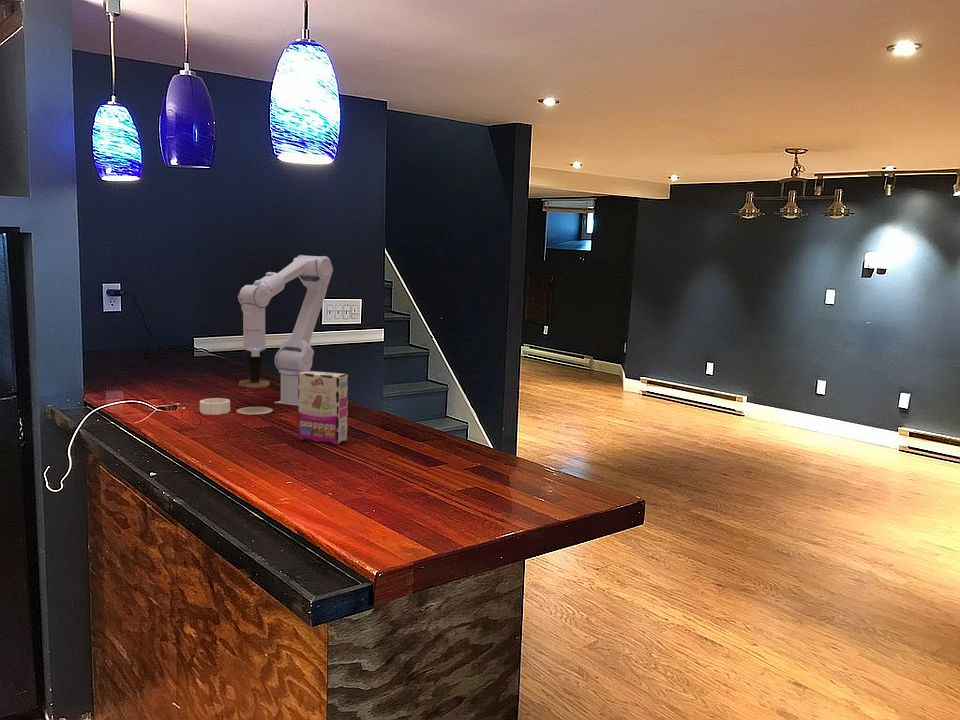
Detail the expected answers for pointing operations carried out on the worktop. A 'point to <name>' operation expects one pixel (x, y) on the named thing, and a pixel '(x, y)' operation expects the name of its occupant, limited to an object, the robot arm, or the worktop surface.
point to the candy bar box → (322, 407)
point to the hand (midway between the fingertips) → (254, 379)
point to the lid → (254, 383)
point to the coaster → (254, 410)
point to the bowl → (214, 406)
